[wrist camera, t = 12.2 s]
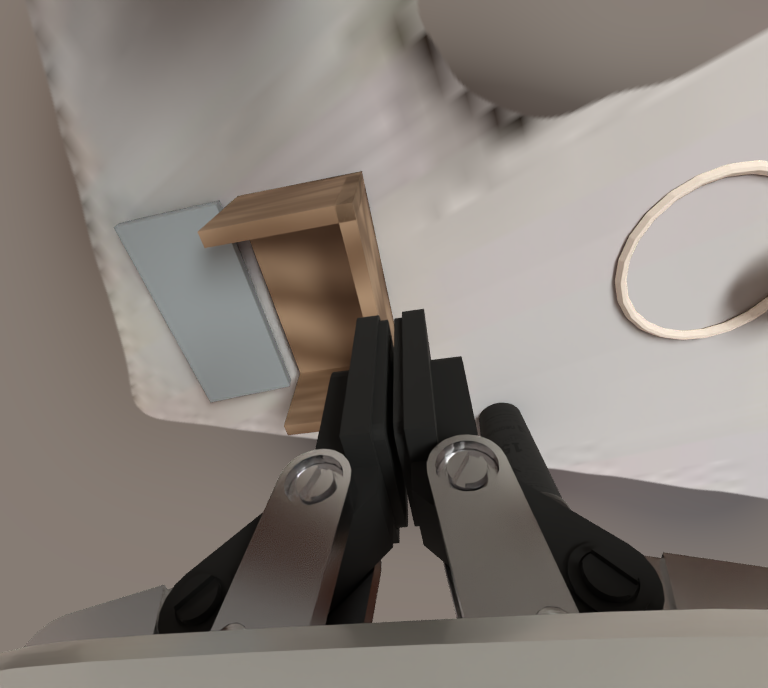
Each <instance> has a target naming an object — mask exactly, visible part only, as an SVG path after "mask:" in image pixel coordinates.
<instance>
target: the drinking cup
mask: <svg viewBox="0 0 768 688" xmlns="http://www.w3.org/2000/svg"><path fill="white" fill-rule="evenodd" d="M479 422H480V432H481V437H484V438H486V439H489V440H491V441H492V442H494V443H495V444H496V445H497V446H499V447H500V448H501V450H502V451H503V453H504V454H505V455H506V457H507V459H508V462H509V464H510V466H511V468H512V470H513V472H514V474H515V477H516V478H517V479H519V480H521V481H522V482H524V483H526V484H527V485H529V486H531V487H533V488H534V489H536V490H538V491H539V492H541V493H543V494H544V495H546V496H548V497H549V498H551V499H553V500H555V501H556V502H558V503H560V504H561V505H563V506H565V507H566V508H568V509H570V507H569V505H568V504H567V503H566V501H564V500H563V499H562V497H561V495H560V493H559V491H558V489H557V487H556V485H555V483H554V481H553V479H552V477H551V474H550V473H549V470H548V468H547V466H546V464H545V462H544V460H543V458H542V456H541V454H540V452H539V450H538V448H537V446H536V444H535V442H534V440H533V438H532V436H531V433H530V431H529V429H528V427H527V425H526V423H525V421H524V419H523V417H522V415H521V413H520V411H519V409H518V408H517V407H515V406H514V405H511V404H508V403H497V404H493V405H491V406H489V407H487V408H486V409H485V410H483V412H482V413H481V415H480V418H479ZM570 510H571V509H570Z"/></svg>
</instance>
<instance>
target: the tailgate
mask: <svg viewBox="0 0 768 688" xmlns="http://www.w3.org/2000/svg"><path fill="white" fill-rule="evenodd" d="M222 210H223V209H222V206H221V204H220V201H215V202H211V203H206V204H202V205H198V206H193V207H189V208H184V209H180V210H175V211H171V212H166V213H162V214H157V215H153V216H148V217H144V218H140V219H135V220H131V221H126V222H122V223H119V224H118V225H116V226H115V227H114V229H115V231H116V233H117V234H118V236H119V238H120V240H121V242H122V243H123V245H124V247H125V249H126V251H127V252H128V254H129V256H130V258H131V260H132V261H133V263H134V265H135V267H136V269H137V270H138V272H139V274H140V276H141V278H142V280H143V281H144V283H145V285H146V287H147V289H148V290H149V292H150V294H151V296H152V298H153V299H154V301H155V303H156V305H157V307H158V308H159V310H160V312H161V314H162V316H163V317H164V319H165V321H166V323H167V325H168V327H169V328H170V330H171V332H172V334H173V336H174V337H175V339H176V341H177V343H178V345H179V346H180V348H181V350H182V352H183V354H184V355H185V357H186V359H187V361H188V363H189V364H190V366H191V368H192V370H193V372H194V373H195V375H196V377H197V379H198V381H199V383H200V384H201V386H202V388H203V390H204V392H205V393H206V395H207V397H208V399H209V401H210V402H215V401H220V400H225V399H230V398H235V397H240V396H245V395H249V394H254V393H259V392H264V391H269V390H274V389H279V388H284V387H288V386H290V382H291V378H290V376H289V373H288V371H287V368H286V366H285V363H284V361H283V358H282V356H281V353H280V351H279V348H278V346H277V343H276V341H275V338H274V336H273V333H272V331H271V328H270V326H269V323H268V321H267V319H266V316H265V314H264V311H263V309H262V306H261V304H260V301H259V299H258V296H257V294H256V291H255V289H254V286H253V284H252V281H251V279H250V276H249V274H248V271H247V269H246V266H245V264H244V261H243V259H242V256H241V254H240V251H239V249H238V246H237V244H236V242H235V243H230V244H225V245H219V246H214V247H208V248H204V246H203V244H202V241H201V239H200V237H199V235H198V231H199V230H200V229H201V228H202V227H203V226H205V225H206V224H207V223H208V222H209V221H210V220H211V219H212V218H214V217H215V216H216V215H217V214H218V213H219V212H220V211H222Z"/></svg>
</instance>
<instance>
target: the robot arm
mask: <svg viewBox="0 0 768 688" xmlns="http://www.w3.org/2000/svg"><path fill="white" fill-rule="evenodd" d="M407 494H408V499H409V503H410V507H411V512H412V516H413V520H414V525H415V526H420V530H421V535H422V539H423V544H424V546H426V547H427V548H428V549H429V550H430V551H431V552H433V553H434V554H435V555H436V556H437V557H439V558H440V559H441V560H442V561H443V563H444V568H445V572H446V576H447V581H448V585H449V589H450V593H451V597H452V601H453V605H454V610H455V614H456V618H457V619H442V620H421V621H401V622H382V623H372V621H373V616H374V610H375V604H376V599H377V593H378V588H379V582H380V576H381V564H382V562H381V559H382V558H383V557H384V556H385V555H386V554H387V553H388V552H389V551H390V550H391V549H392V548H393V543H399V528H400V527H407V526H408V504H407V503H408V501H407V500H408V499H407ZM0 688H768V567H762V566H755V565H747V564H741V563H734V562H727V561H720V560H713V559H706V558H699V557H692V556H686V555H679V554H672V553H664V552H663V554H662V557H661V558H658V557H651V556H644V555H643V554H641V553H640V552H639V551H637V550H636V549H634V548H633V547H632V546H630V545H629V544H627V543H626V542H624V541H622V540H620V539H619V538H617V537H615V536H614V535H612V534H610V533H609V532H607V531H605V530H603V529H602V528H600V527H599V526H597V525H595V524H593V523H592V522H590V521H589V520H587V519H585V518H583V517H582V516H580V515H578V514H577V513H575V512H573V511H571V510H570V509H568V508H566V507H565V506H563V505H561V504H560V503H558V502H556V501H555V500H553V499H551V498H549V497H548V496H546V495H544V494H543V493H541V492H539V491H538V490H536V489H534V488H533V487H531V486H529V485H527V484H526V483H524V482H522V481H521V480H519V479H517V478H516V477H515V474H514V472H513V470H512V468H511V466H510V464H509V462H508V459H507V457H506V455H505V454H504V453H503V451H502V450H501V448H500V447H499V446H497V445H496V444H495V443H494V442H492V441H491V440H489V439H486V438H484V437H481V436H478V433H477V429H476V424H475V419H474V414H473V409H472V404H471V399H470V395H469V390H468V385H467V380H466V375H465V370H464V365H463V361H462V357H461V356H460V357H452V358H444V359H436V360H431V356H430V349H429V342H428V335H427V328H426V321H425V314H424V309H420V310H412V311H405V312H402V318H396V319H394V345H393V340H392V335H391V330H390V325H389V321H388V320H381V319H380V316H379V315H376V316H369V317H361V318H357V321H356V328H355V335H354V341H353V348H352V355H351V361H350V368H349V370H346V371H338V372H333V373H332V374H331V377H330V381H329V386H328V391H327V395H326V400H325V405H324V410H323V415H322V420H321V425H320V430H319V435H318V440H317V445H316V449H315V450H312V451H309V452H307V453H303V454H302V455H300V456H298V457H297V458H295V459H293V460H292V461H291V462H290V463H289V464H288V465H287V466H286V467H285V468H284V469H283V471H282V473H281V474H280V476H279V478H278V480H277V482H276V485H275V487H274V489H273V491H272V493H271V496H270V498H269V500H268V502H267V505H266V507H265V509H264V511H263V513H262V514H261V515H259V516H258V517H257V518H255V519H254V520H253V521H252V522H251V523H249V524H248V525H247V526H246V527H244V528H243V529H242V530H240V532H238V533H237V534H236V535H234V536H233V537H232V538H230V539H229V540H228V541H227V542H225V543H224V544H223V545H222V546H221V547H219V548H218V549H217V550H216V551H214V552H213V553H212V554H211V555H209V556H208V557H207V558H206V559H204V560H203V561H202V562H201V563H199V564H198V565H197V566H196V567H194V568H193V569H192V570H191V571H189V572H188V573H187V574H186V575H185V576H184V577H183V578H182V579H181V580H180V581H179V582H178V583H176V584H175V586H174V587H173V588H171V589H167V588H166V587H165V586H164V585H161V586H158V587H155V588H151V589H148V590H145V591H142V592H139V593H135V594H132V595H129V596H126V597H122V598H119V599H116V600H112V601H109V602H106V603H102V604H99V605H96V606H92V607H89V608H86V609H83V610H79V611H76V612H73V613H70V614H66V615H64V616H62V617H60V618H57V619H55V620H53V621H51V622H50V623H48V624H47V625H46V626H45V627H43V628H42V629H41V630H39V631H38V632H37V633H36V634H35V635H34V636H33V637H32V638H31V639H30V641H29V642H28V643H27V644H26V645H25V646H24V647H23V648H20V649H16V650H11V651H7V652H2V653H0Z"/></svg>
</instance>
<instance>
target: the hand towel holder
mask: <svg viewBox="0 0 768 688" xmlns="http://www.w3.org/2000/svg"><path fill="white" fill-rule="evenodd" d="M746 174H759V175H766V176H768V161H761V160H756V161H748V162H741V163H733V164H727V165H725V166H722V167H719V168H716V169H714V170H711V171H708V172H705V173H703V174H700V175H698V176H696V177H694V178H693V179H691V180H689V181H688V182H686V183H684V184H683V185H681V186H679V187H678V188H676V189H675V190H673V191H671V192H670V193H668V194H667V195H666V196H665V197H664V198H663V199H662V200H661V201H659V202H658V203H657V204H656V205H655V206H654V207H653V208H652V209H651V210H649V211H648V212H647V213H646V214H645V216H644V217H643V218H642V220H641V221H640V222H639V224H638V225H637V226H636V228H635V229H634V230H633V232H632V233H631V234H630V236H629V238H628V240H627V242H626V244H625V247H624V249H623V251H622V253H621V255H620V258H619V260H618V266H617V271H616V277H615V287H616V294H617V301H618V303H619V305H620V307H621V309H622V311H623V312H624V314H625V316H626V318H627V319H629V320H630V321H631V322H632V323H633V324H634V325H636V326H637V327H638V328H639V329H641V330H643V331H645V332H648V333H650V334H653V335H655V336H658V337H664V338H672V339H681V340H686V339H697V338H707V337H710V336H714V335H717V334H721V333H724V332H728V331H731V330H733V329H735V328H737V327H740V326H742V325H744V324H746V323H748V322H750V321H752V320H754V319H756V318H757V317H759V316H760V315H762V314H763V313H765V312H766V311H768V297H767V298H765V299H764V300H762V301H761V302H759V303H758V304H757V305H755V306H754V307H752V308H751V309H749V310H748V311H746V312H745V313H743V314H741V315H739V316H736V317H734V318H732V319H730V320H728V321H726V322H724V323H721V324H717V325H714V326H710V327H707V328H703V329H697V330H687V331H680V330H672V329H664V328H662V327H659V326H657V325H655V324H652V323H650V322H648V321H647V320H646V319H644V318H643V317H642V316H641V315H640V314H639V313H638V312H636V310H635V308H634V306H633V304H632V303H631V301H630V299H629V297H628V289H627V282H626V278H627V273H628V267H629V262H630V259H631V256H632V254H633V252H634V250H635V248H636V246H637V244H638V242H639V239H640V238H641V237H642V236H643V234H644V233H645V232H646V230H647V229H648V228H649V226H650V225H651V224H652V223H653V221H654V220H655V219H656V218H657V217H658V216H659V215H660V214H662V213H663V212H664V211H665V210H666V209H667V208H668V207H670V206H671V205H672V204H673V203H674V202H675V201H677V200H678V199H680V198H682V197H683V196H685V195H687V194H688V193H690V192H692V191H693V190H695V189H697V188H698V187H700V186H703V185H706V184H708V183H711V182H714V181H717V180H719V179H722V178H725V177H730V176H738V175H746Z"/></svg>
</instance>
